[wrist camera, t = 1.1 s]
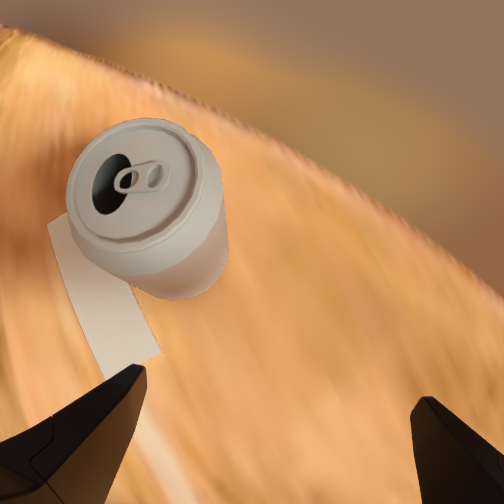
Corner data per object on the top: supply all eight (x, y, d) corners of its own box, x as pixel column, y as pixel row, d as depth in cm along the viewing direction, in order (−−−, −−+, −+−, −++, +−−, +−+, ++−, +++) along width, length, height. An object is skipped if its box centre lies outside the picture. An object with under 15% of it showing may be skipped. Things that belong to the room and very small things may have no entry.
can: (137, 204, 24) (75, 111, 13) (231, 205, 24) (227, 101, 13) (127, 299, 22) (35, 263, 11) (227, 304, 22) (215, 272, 11)
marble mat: (107, 380, 21) (106, 380, 20) (48, 225, 23) (46, 224, 23) (272, 293, 23) (272, 293, 23) (187, 147, 26) (187, 145, 25)
